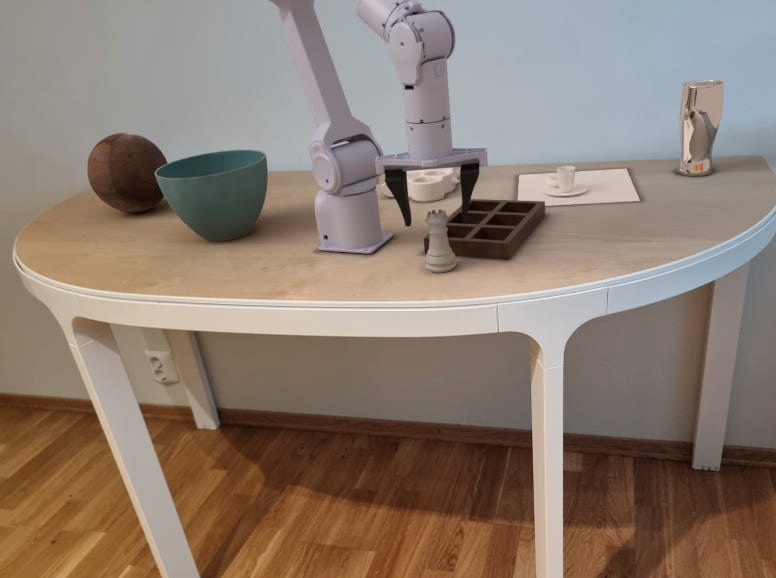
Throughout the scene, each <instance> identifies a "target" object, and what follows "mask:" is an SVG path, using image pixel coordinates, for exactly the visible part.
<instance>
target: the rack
mask: <svg viewBox="0 0 776 578" xmlns="http://www.w3.org/2000/svg"><path fill="white" fill-rule="evenodd" d="M467 216H468V219H467V223H462V205H460V206H459V207H458V208H457V209H455V211H453V212H452V213H451V214H450V215H448V217H449V219H448V221H447V223H446V227H447V228H448V230H447V237H448V242H449V246H450V248H451V249H452V252H453V253H454V254H455V256H456V257H467V258H468V257H469V258H482V259H495V260H497V259H498V260H510V259H511V257H513V255H514V254H515V253H516V252H517V250H518V249H519V248H520V247H521V245H522V244H524V242H525V241H526V239H527V238H528V237H529V236H530V235H531V234H532V232H533V231H534V230H535V229H536V227H537V226H538V225H539V223H540V222H541V221H542V220H543V219H544V218H545V216H546V206H545V201H519V200H518V199H517V200H516V199H515V200H514V199H513V200H512V199H486V198H485V199H483V198H471V199H470V203H469V208H468V215H467ZM429 243H430V236H429V233H428V234H427V235H425V236H424V237H423V246H424V248H423V249H424V254H426V255H427V254H428V253H427V252H428V250H429Z"/></svg>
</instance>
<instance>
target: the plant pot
mask: <svg viewBox="0 0 776 578" xmlns="http://www.w3.org/2000/svg"><path fill="white" fill-rule="evenodd" d="M167 163H168V164H165V165H163V166H161V167H160V168H158V169H157V170H156V171H155V177H156V180H157V182H158V185H159V187H160V189H161V191H162V193H163V195H164V197H163V198H164V199H165V200H166V202H167V203H168V206H170V208H171V209H172V210H173V212H174V213H175V214H176V216H177V217H178V218H179V219H180V220H181V221H182V222H183V223H184V224H185V225H186V226H187V227H188V228H189V229H190V230H192V231H193V232H194V233H195V234H196V235H198V236H200V238H202V239H203V240H206V241H208V242H225V241H231V240H235V239H238V238H241V237H244V236H246V235H248V234H249V233H250V232H252V230H253V229H254V227H255V226H256V224H257V222H258V220H259V218H260V215H261V214H262V210H263V208H264V204H265V201H266V196H267V191H268V181H269V180H268V179H269V176H268V175H269V174H268V172H269V171H268V169H269V168H268V159H267V154H266V153H265V152H264V151H261V150H256V149H229V150H220V151H213V152H207V153H201V154H196V155H191V156H187V157H183V158H179V159H176V160H174V161H170V162H167Z"/></svg>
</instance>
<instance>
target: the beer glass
mask: <svg viewBox="0 0 776 578" xmlns="http://www.w3.org/2000/svg"><path fill="white" fill-rule="evenodd" d="M724 84H725V83H724V81H722V80H717V79H700V80H691V81H686V82H684V83H682V84H681V85H682V86H681V92H680V99H679V105H678V106H679V107H678V130H679V131H678V132H679V140H680V153H679V155H680V156H679V160H678V164H677V168H676V174H679V175H681V176H686V177H701V176H707V175H711V174H712V173H713V171H714V167H713V150H714V145H715V141H716V137H717V134H718V130H719V128H720V123H721V119H722V113H723V105H724Z"/></svg>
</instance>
